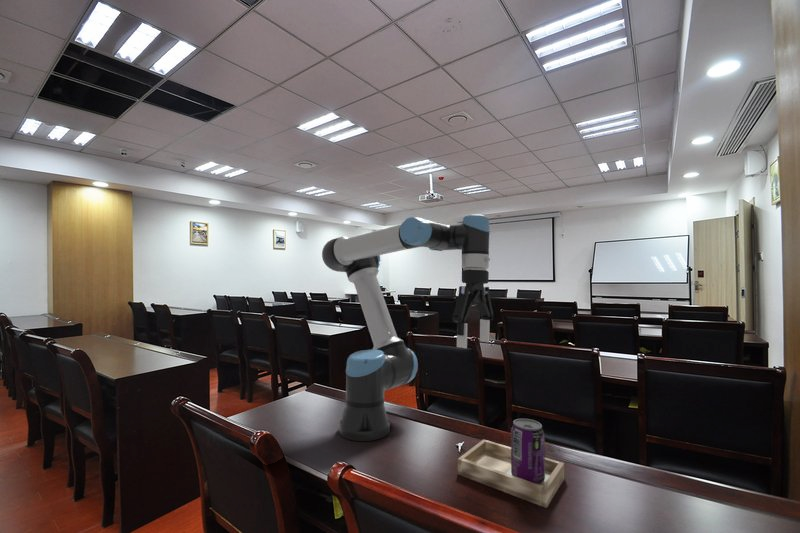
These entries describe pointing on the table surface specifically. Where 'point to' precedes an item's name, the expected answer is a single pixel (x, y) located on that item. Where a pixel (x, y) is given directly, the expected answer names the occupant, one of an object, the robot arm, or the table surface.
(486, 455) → the crate
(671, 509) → the table surface
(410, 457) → the table surface
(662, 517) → the table surface
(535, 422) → the beverage can
